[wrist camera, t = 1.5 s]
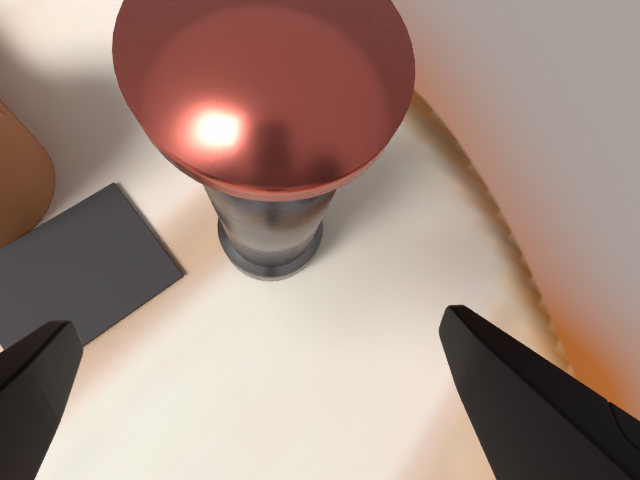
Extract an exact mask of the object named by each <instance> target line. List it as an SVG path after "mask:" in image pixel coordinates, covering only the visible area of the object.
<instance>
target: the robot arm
mask: <svg viewBox="0 0 640 480" xmlns="http://www.w3.org/2000/svg"><path fill="white" fill-rule="evenodd" d="M439 336H440V339H441V342H442V346H443V349H444V352H445V355H446V358H447V361H448V364H449V367H450V370H451V373H452V376H453V380H454V383H455V385H456V388H457V391H458V393H459V396H460V398H461V401H462V403H463V405H464V407H465V410H466V412H467V414H468V416H469V419H470V421H471V423H472V425H473V428H474V430H475V432H476V435H477V437H478V439H479V441H480V444H481V446H482V448H483V450H484V453H485V455H486V457H487V459H488V462H489V464H490V466H491V469H492V471H493V473H494V475H495V478H496V480H640V421H639V420H637V419H636V418H634V417H632V416H631V415H629V414H628V413H626V412H625V411H623V410H622V409H620V408H619V407H617V406H616V405H614V404H613V403H611V402H608V401H607V400H606V399H605V398H603V397H602V396H601V395H599V394H598V393H596V392H595V391H593V390H592V389H590V388H588V387H587V386H585V385H584V384H582V383H581V382H579V381H578V380H576V379H575V378H573V377H572V376H570V375H569V374H567V373H566V372H564V371H563V370H561V369H560V368H558V367H557V366H555V365H554V364H552V363H551V362H549V361H548V360H546V359H545V358H543V357H542V356H540V355H539V354H537V353H536V352H534V351H533V350H531V349H530V348H528V347H527V346H525V345H524V344H522V343H521V342H519V341H517V340H516V339H514V338H513V337H511V336H510V335H508V334H507V333H505V332H504V331H502V330H501V329H499V328H498V327H496V326H495V325H493V324H492V323H490V322H489V321H487V320H486V319H484V318H483V317H481V316H480V315H478V314H477V313H475V312H474V311H472V310H471V309H469V308H468V307H466V306H464V305H449V306H448V307H447V308H446V309H445V312H444V315H443V318H442V321H441V324H440V327H439ZM82 355H83V344H82V341H81V339H80V337H79V334H78V332H77V330H76V327H75V325H74V323H73V322H72V321H70V320H54V321H49V322H47V323H45V324H44V325H42V326H41V327H39V328H38V329H36V330H35V331H33V332H31V333H30V334H28V335H27V336H25V337H24V338H22V339H21V340H19V341H18V342H16V343H15V344H13V345H12V346H10V347H8V348H7V349H5V350H4V351H2V352H1V353H0V480H34V479H35V477H36V475H37V473H38V471H39V468H40V466H41V464H42V462H43V460H44V457H45V455H46V453H47V451H48V449H49V446H50V444H51V442H52V440H53V437H54V435H55V433H56V431H57V428H58V426H59V424H60V421H61V418H62V416H63V413H64V410H65V407H66V404H67V401H68V398H69V395H70V392H71V389H72V386H73V383H74V380H75V377H76V374H77V371H78V368H79V365H80V362H81V358H82Z"/></svg>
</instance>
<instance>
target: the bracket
mask: <svg viewBox="0 0 640 480" xmlns="http://www.w3.org/2000/svg"><path fill="white" fill-rule="evenodd" d="M54 188H55V173H54V168H53V164H52V161H51V159H50V157H49V155H48V153H47V152H46V150H45V149H44V147H43V146H42V145H41V144H40V143H39V142H38V141H37V140H36V138H35V137H34V136H33V135H32V134H31V133H30V132H29V131H28V130H27V129H26V128H25V127H24V125H23V124H22V123H21V122H20V121H19V120H18V119H17V118H16V117H15V116H14V115H13V114H12V112H11V111H10V110H9V109H8V108H7V107H6V106H5V105H4V104H3V103H2V102H1V101H0V249H1V248H3V247H5V246H6V245H8V244H10V243H11V242H13V241H15V240H17V239H18V238H20V237H22V236H23V235H25V234H27V233H29V232H30V231H31V230H32V229H33V228H34V227H35V226H36V225H37V224H38V223H39V222H40V220H41V219H42V217H43V216H44V215H45V213H46V211H47V209H48V207H49V205H50V203H51V200H52V197H53V194H54Z"/></svg>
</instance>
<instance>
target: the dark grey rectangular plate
mask: <svg viewBox="0 0 640 480" xmlns="http://www.w3.org/2000/svg"><path fill="white" fill-rule="evenodd" d="M181 277H183V275H182V273H181V272H180V270H179V269H178V268H177V266H176V265H175V264H174V262H173V261H172V260H171V258H170V257H169V256H168V254H167V253H166V252H165V250H164V249H163V248H162V246H161V245H160V244H159V242H158V241H157V239H156V238H155V237H154V235H153V234H152V233H151V231H150V230H149V229H148V227H147V226H146V225H145V223H144V222H143V221H142V219H141V218H140V217H139V215H138V214H137V212H136V211H135V210H134V208H133V207H132V206H131V204H130V203H129V202H128V200H127V199H126V198H125V196H124V195H123V194H122V192H121V191H120V190H119V188H118V187H117V186H116V184H115V183H112V184H110V185H109V186H107V187H105V188H103V189H102V190H100V191H98V192H97V193H95V194H93V195H92V196H90V197H88V198H86V199H85V200H83V201H81V202H80V203H78V204H76V205H75V206H73V207H71V208H69V209H68V210H66V211H64V212H63V213H61V214H59V215H57V216H56V217H54V218H52V219H51V220H49V221H47V222H46V223H44V224H42V225H40V226H39V227H37V228H35V229H34V230H32V231H30V232H29V233H27V234H25V235H23V236H22V237H20V238H18V239H17V240H15V241H13V242H11V243H10V244H8V245H6V246H5V247H3V248H1V249H0V344H1V346H2V347H3V349H4V350H5V349H7V348H8V347H10V346H12V345H13V344H15V343H16V342H18V341H19V340H21V339H22V338H24V337H25V336H27V335H28V334H30V333H31V332H33V331H35V330H36V329H38V328H39V327H41V326H42V325H44V324H45V323H47V322H49V321H54V320H70V321H72V322H73V323H74V325H75V327H76V330H77V332H78V334H79V337H80V339H81V341H82V344H83V346H85V345H86V344H87V343H89V342H90V341H92V340H93V339H95V338H96V337H97V336H99V335H100V334H102V333H103V332H105V331H106V330H107V329H109V328H110V327H112V326H113V325H115V324H116V323H117V322H119V321H120V320H122V319H123V318H124V317H126V316H127V315H129V314H130V313H132V312H133V311H134V310H136V309H137V308H139V307H140V306H142V305H143V304H144V303H146V302H147V301H149V300H150V299H152V298H153V297H154V296H156V295H157V294H159V293H160V292H162V291H163V290H164V289H166V288H167V287H169V286H170V285H172V284H173V283H174V282H176V281H177V280H179V279H180V278H181Z"/></svg>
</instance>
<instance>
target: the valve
mask: <svg viewBox="0 0 640 480" xmlns="http://www.w3.org/2000/svg"><path fill="white" fill-rule="evenodd" d="M112 54H113V63H114V70H115V74H116V77H117V81H118V84H119V88H120V90H121V92H122V94H123V96H124V98H125V101H126V103H127V105H128V106H129V108H130V109H131V111H132V113H133V114H134V116H135V117H136V119H137V120H138V122H139V123H140V125H141V126H142V128H143V130H144V131H145V133H146V134H147V136H148V137H149V139H150V140H151V142H152V143H153V145H154V146H155V147H156V148H157V149H158V150H159V151H160V152H161V154H162V155H163V156H164V157H165V158H166V159H167V160H168V161H170V162H171V163H172V164H173V165H174V166H175V167H177V168H178V169H179V170H180V171H182V172H183V173H185V174H186V175H188V176H189V177H191V178H192V179H194V180H195V181H197V182H199V183H201V184H203V185H204V187H205V190H206V192H207V194H208V196H209V198H210V200H211V202H212V204H213V206H214V208H215V211H216V213H217V215H218V235H219V239H220V243H221V245H222V247H223V249H224V251H225V253H226V254H227V256H228V258H229V259H230V261H231V262H232V263H233V265H234V266H235V267H236V268H237V269H238V270H240V271H241V272H242V273H244V274H245V275H247V276H249V277H251V278H254V279H257V280H262V281H279V280H283V279H286V278H289V277H291V276H293V275H295V274H297V273H298V272H300V271H301V270H302V269H303V268H304V267H305V266H306V265H307V264H308V263H309V261H310V260H311V258H312V257H313V255H314V254H315V252H316V250H317V248H318V246H319V244H320V241H321V236H322V218H323V215H324V213H325V211H326V209H327V207H328V205H329V203H330V201H331V199H332V197H333V195H334V193H335V191H336V189H337V188H339V187H341V186H343V185H345V184H347V183H348V182H350V181H351V180H353V179H355V178H356V177H358V176H359V175H360V174H361V173H363V172H364V171H365V170H366V169H367V168H369V167H370V166H371V165H372V164H373V162H374V161H375V160H376V159H377V158H378V157H379V156H380V155H381V153H382V152H383V150H384V149H385V147H386V146H387V144H388V142H389V141H390V139H391V138H392V136H393V135H394V133H395V132H396V130H397V129H398V127H399V126H400V124H401V122H402V121H403V119H404V116H405V114H406V112H407V110H408V108H409V105H410V101H411V98H412V94H413V89H414V81H415V59H414V54H413V48H412V43H411V40H410V37H409V34H408V31H407V28H406V26H405V24H404V22H403V20H402V18H401V16H400V14H399V12H398V11H397V9H396V8H395V6H394V5H393V3H392V2H391V0H124V1H123V3H122V6H121V8H120V11H119V13H118V15H117V19H116V23H115V28H114V32H113V45H112Z"/></svg>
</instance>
